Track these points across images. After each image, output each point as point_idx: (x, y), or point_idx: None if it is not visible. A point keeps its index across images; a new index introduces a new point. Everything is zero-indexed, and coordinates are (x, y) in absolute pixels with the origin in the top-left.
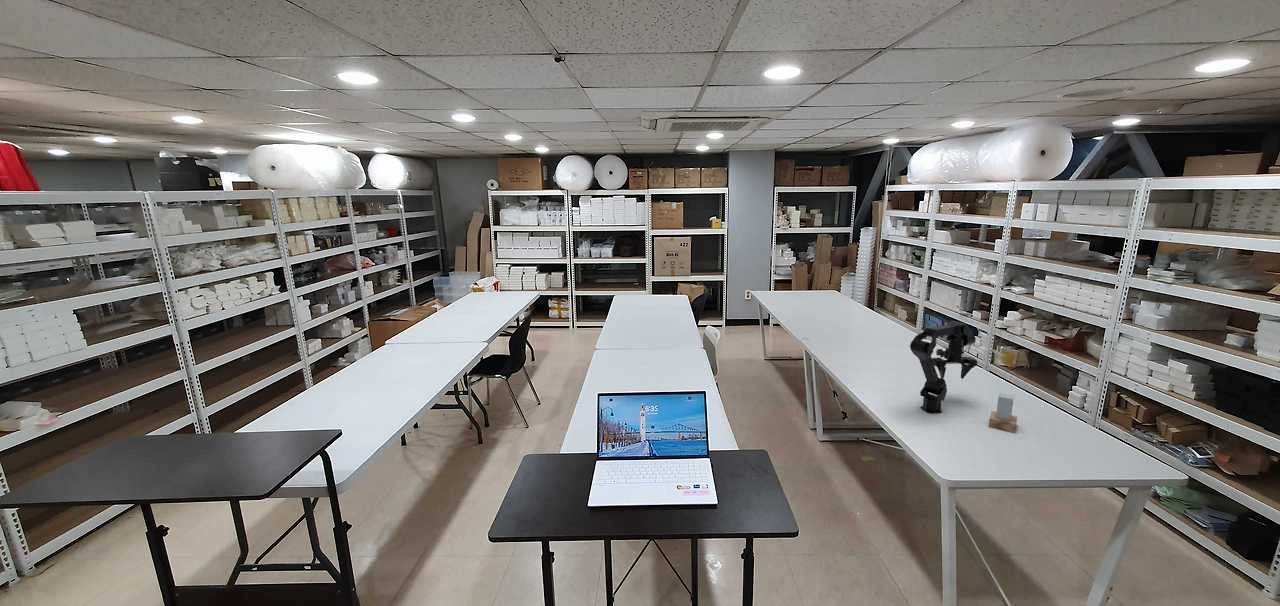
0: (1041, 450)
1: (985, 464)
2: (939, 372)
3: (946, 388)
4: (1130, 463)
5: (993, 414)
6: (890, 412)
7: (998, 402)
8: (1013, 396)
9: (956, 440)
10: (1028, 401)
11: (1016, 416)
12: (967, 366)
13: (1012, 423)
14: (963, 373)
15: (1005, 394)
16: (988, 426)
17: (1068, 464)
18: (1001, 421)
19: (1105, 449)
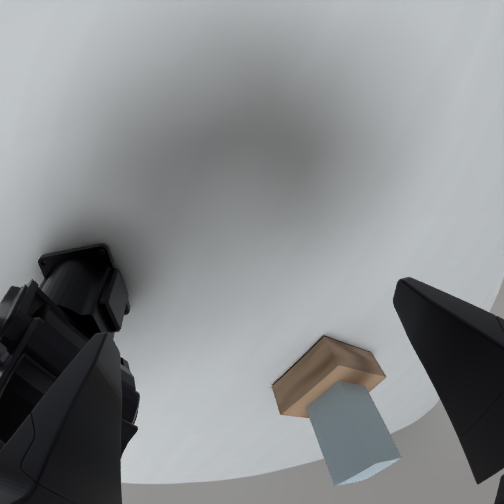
0: None
1: (172, 473)
2: (41, 411)
3: (135, 412)
4: (412, 413)
5: (319, 389)
6: None
7: (328, 463)
8: (390, 464)
9: (139, 439)
10: None
11: (383, 378)
12: (490, 474)
13: None
14: (438, 366)
15: (380, 465)
16: (272, 387)
17: (320, 449)
18: (307, 416)
19: (428, 390)
